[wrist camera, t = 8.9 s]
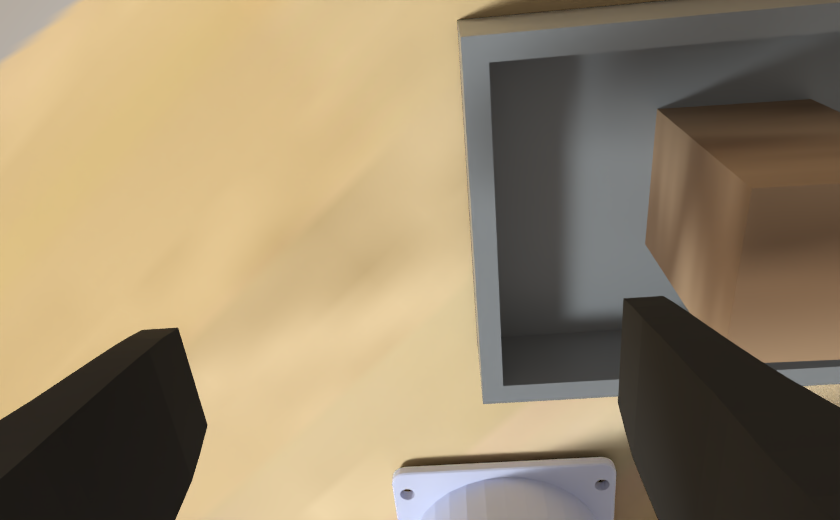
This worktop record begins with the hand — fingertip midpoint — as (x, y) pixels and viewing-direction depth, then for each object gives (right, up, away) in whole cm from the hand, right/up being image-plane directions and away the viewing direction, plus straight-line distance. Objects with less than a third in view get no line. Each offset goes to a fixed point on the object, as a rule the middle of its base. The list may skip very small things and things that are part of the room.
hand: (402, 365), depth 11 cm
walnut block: (+9, +4, +8) cm, 12 cm away
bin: (+8, +4, +8) cm, 12 cm away
